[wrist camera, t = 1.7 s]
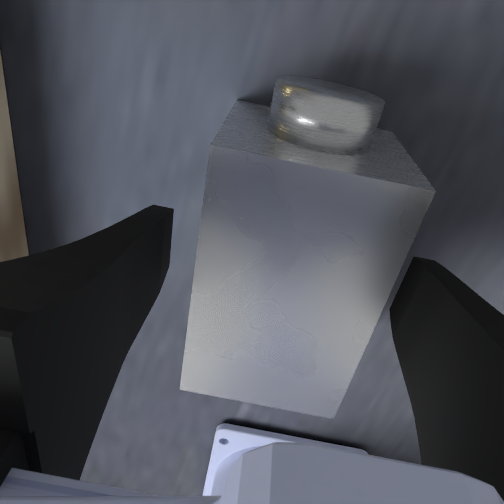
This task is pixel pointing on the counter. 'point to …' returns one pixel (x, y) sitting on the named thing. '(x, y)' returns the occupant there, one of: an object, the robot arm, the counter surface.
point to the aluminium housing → (298, 245)
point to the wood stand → (9, 188)
